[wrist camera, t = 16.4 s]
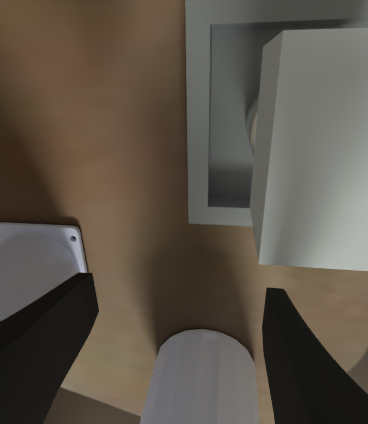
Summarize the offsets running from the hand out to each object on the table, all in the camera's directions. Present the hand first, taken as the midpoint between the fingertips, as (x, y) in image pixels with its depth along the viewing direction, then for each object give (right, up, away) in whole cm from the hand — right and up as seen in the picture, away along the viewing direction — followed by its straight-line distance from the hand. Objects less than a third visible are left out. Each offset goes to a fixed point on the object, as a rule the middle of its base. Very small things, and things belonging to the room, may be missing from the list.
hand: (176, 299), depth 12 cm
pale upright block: (+6, +7, +1) cm, 9 cm away
